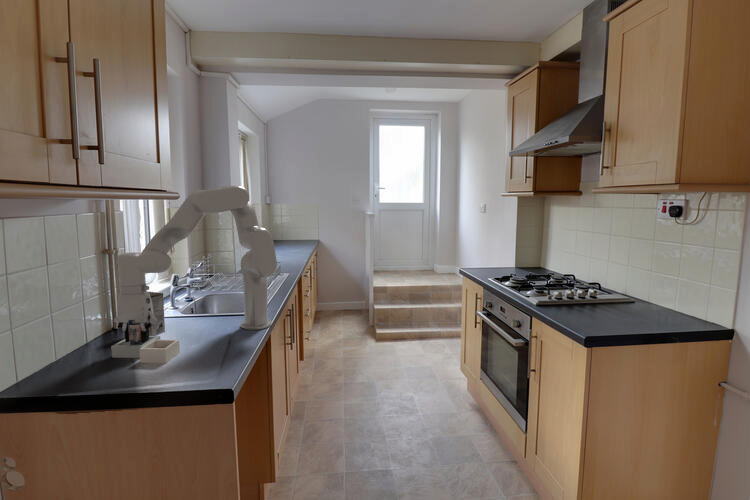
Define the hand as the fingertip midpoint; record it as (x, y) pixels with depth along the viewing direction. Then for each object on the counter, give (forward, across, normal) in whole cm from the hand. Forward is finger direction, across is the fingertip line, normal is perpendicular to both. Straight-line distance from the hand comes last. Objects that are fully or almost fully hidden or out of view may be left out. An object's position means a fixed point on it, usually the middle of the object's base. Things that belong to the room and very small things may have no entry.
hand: (137, 340), depth 134 cm
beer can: (+3, 0, 0) cm, 3 cm away
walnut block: (+4, -11, +5) cm, 13 cm away
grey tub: (+5, 0, 0) cm, 5 cm away
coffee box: (+5, +8, -21) cm, 23 cm away
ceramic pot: (+5, -11, +5) cm, 13 cm away
